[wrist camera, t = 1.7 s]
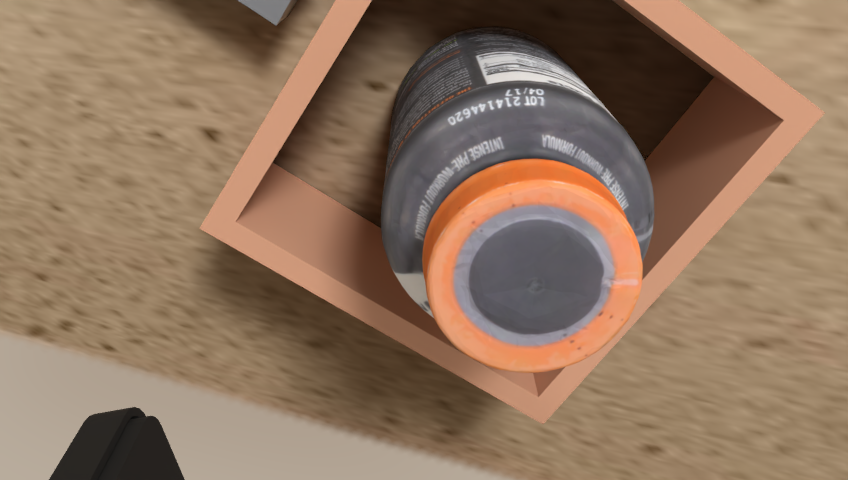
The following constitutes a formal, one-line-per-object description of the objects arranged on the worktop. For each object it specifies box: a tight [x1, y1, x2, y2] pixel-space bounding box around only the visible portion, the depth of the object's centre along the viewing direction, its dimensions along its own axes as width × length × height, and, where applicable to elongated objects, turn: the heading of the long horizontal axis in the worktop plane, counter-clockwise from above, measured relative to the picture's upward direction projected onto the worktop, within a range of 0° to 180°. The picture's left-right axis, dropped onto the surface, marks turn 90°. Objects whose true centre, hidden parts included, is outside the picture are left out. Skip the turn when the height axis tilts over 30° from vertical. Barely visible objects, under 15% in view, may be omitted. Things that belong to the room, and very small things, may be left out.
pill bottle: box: [381, 27, 655, 373], centre depth 19 cm, size 6×6×11 cm
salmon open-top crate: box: [200, 0, 825, 424], centre depth 22 cm, size 11×11×5 cm
